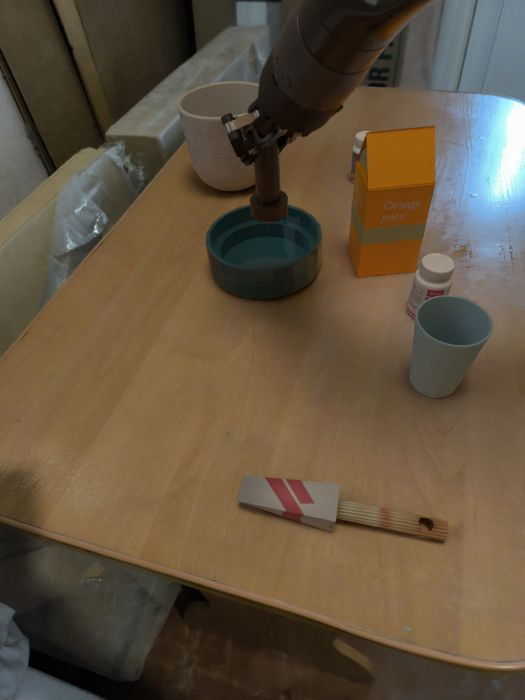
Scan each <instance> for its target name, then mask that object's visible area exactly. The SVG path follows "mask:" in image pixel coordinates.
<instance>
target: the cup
mask: <svg viewBox="0 0 525 700" xmlns="http://www.w3.org/2000/svg"><path fill="white" fill-rule="evenodd" d="M493 330H494V322H493V319H492V316H491V315H490V313H489V312H488V311H487V310H486V308H484V307H483V306H482V305H481V304H479V303H477V302H476V301H474V300H471V299H468V298H467V297H464V296H463V297H462V296H460V295H454V294H453V295H452V294H451V295H450V294H449V295H441V296H435V297H432V298H429V299H427V300H425V301H424V302H422V303H421V304H420V306H419V307H418V309H417V311H416V316H415V319H414V327H413V338H412V348H411V357H410V366H409V367H410V368H409V381H410V383H411V386H412V387H413V388H414V390H415V391H417V392H418V393H420V394H421V395H423V396H426V397H429V398H433V399H441V398H446V397H448V396H450V395H452V394H453V393H454V392H455V391H456V389H457V388H458V386H459V385H460V383H461V382H462V380H463V378H464V377H465V375H466V374H467V373H468V371H469V369H470V368H471V366H472V365H473V363H474V362H475V360H476V359H477V357H478V355H479V354H480V352H481V350H482V349H483V348H484V346H485V345H486V343H487V341H488V340H489V339H490V337H491V336H492V333H493Z"/></svg>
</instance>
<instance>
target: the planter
mask: <svg viewBox="0 0 525 700" xmlns="http://www.w3.org/2000/svg"><path fill="white" fill-rule="evenodd" d="M258 90H259V83H257V82H253V81H243V80H229V81H228V80H227V81H218V82H212V83H207V84H204V85H201V86H197V87H195V88H192V89H190V90H188V91H187V92H186V93H184V94H183V95H181V96H180V98H178V100H177V103H176V108H177V111H178V115H179V120H180V123H181V127H182V131H183V135H184V139H185V142H186V146H187V150H188V154H189V157H190V161H191V164H192V166H193V169H194V171H195V172H196V174H197V176H198V177H199V178H200V180H201V181H203V183H205V184H206V185H207V186H209V187H210V188H212V189H215V190H219V191H221V192H222V191H224V192H237V191H243V190H246V189H249V188H251V187H253V186H256V183H255V171H254V162H253V163H252V164H251V165H248V166H245V164H244V163H242V162H241V160H240V157H237V156H236V154H235V151H234V149H233V147H232V145H231V143H230V141H229V138H228V136H227V133H226V131H225V129H224V126H223V124H222V121H221V117H222V116H224V115H225V114H228V113H232V115H233V117H234V116H238V118H239V117H241V116H243V115H246V114H248V108H249V106H250V105H251V104H252V103H253V102H254V101H255V100H256V99H257V98H258Z"/></svg>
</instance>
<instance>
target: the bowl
mask: <svg viewBox="0 0 525 700" xmlns="http://www.w3.org/2000/svg"><path fill="white" fill-rule="evenodd" d="M205 235H206V236H205V241H204V243H205V247H206V254H207V259H208V264H209V269H210V272H211V275H212V276H213V280H214V281H215V282H216V283H217V284H218V285H219V286H220V287H221V288H222V289H223V290H225V291H227V292H228V293H231V294H233V295H236V296H238V297H241V298H242V297H243V298H248V299H255V300H261V299H277V298H280V297H284V296H288V295H292V294H293V293H296V292H298V291H299V290H301V289H303V288H305V287H306V286H308V285H309V284H310V283H311V282H312V281H313V280H314V279H315V278H316V276H317V275H318V274H319V271H320V268H321V266H322V248H323V246H322V245H323V232H322V226H321V224H320V223H319V221H318V219H316V218H315V216H314V215H312V214H311V213H309V212H308V211H306V210H304V209H303V208H301V207H297V206H294V205H292V204H288V214H287V216H286V217H285V218H283V219H282V220H280V221H276V222H271V223H265V222H260V221H257V220H255V219H254V218H253V217H252V215H251V208H250V204H246V205H243V206H239V207H236V208H234V209H232V210H229V211H227V212H225V213H223V214H222V215H221V216H219V217H218V218H216V219H215V220H214V221H213V222H212V224H211V225H210V226H209V228H208V230H206V234H205Z"/></svg>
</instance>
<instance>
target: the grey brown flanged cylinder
mask: <svg viewBox="0 0 525 700" xmlns="http://www.w3.org/2000/svg"><path fill="white" fill-rule="evenodd" d="M254 171H255V183H256V184H255V192H253V193H252V194H251V196H250V197H249V205H250V208H251V215H252V217H253V218H254V219H255V220H257V221H260V222H265V223H271V222H276V221H280V220H282V219H283V218H285V217H286V216H287V214H288V205H289V197H288V194H287V193H286V192H285V191H284V190H282V189H281V177H280V176H281V171H280V154H279V142H278V139H277V140H276V141H275V142H274V143H273V144H272V145H271V146H269V147H265V148H262V149H261V150H260V151H259V154H258V156H257V157H256V158H255V160H254Z"/></svg>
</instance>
